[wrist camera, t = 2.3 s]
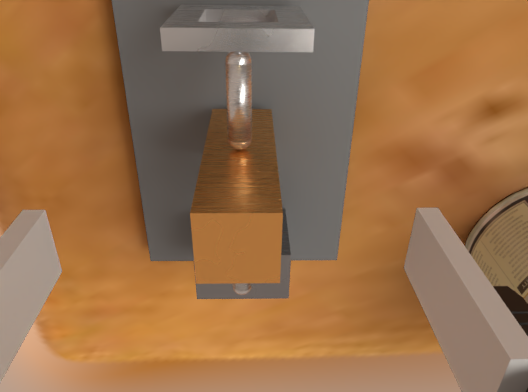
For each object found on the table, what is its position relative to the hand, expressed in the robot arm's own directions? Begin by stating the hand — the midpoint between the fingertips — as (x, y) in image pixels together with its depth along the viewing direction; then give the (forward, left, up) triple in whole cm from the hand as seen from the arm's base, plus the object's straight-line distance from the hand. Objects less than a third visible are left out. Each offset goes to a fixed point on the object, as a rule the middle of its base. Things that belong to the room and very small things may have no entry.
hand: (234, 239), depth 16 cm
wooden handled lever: (0, 0, -9) cm, 9 cm away
